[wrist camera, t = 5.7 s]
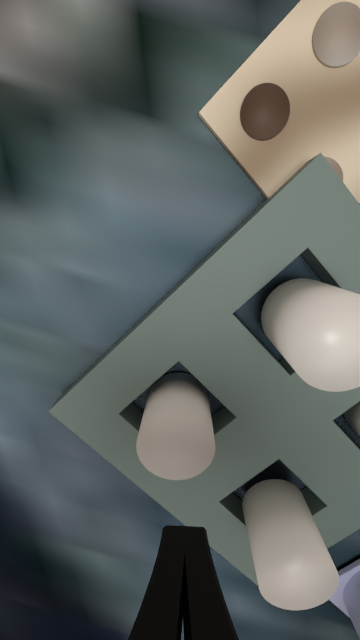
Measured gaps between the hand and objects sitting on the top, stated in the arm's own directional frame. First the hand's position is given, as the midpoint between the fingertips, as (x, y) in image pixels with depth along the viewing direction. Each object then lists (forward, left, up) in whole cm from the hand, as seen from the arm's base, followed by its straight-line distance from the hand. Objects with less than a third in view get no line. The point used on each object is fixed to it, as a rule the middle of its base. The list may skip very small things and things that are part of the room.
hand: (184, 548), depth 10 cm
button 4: (0, -8, -8) cm, 12 cm away
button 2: (0, +1, -10) cm, 10 cm away
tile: (+7, -16, -10) cm, 20 cm away
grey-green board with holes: (-4, -4, -10) cm, 12 cm away
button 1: (-9, +1, -8) cm, 12 cm away
